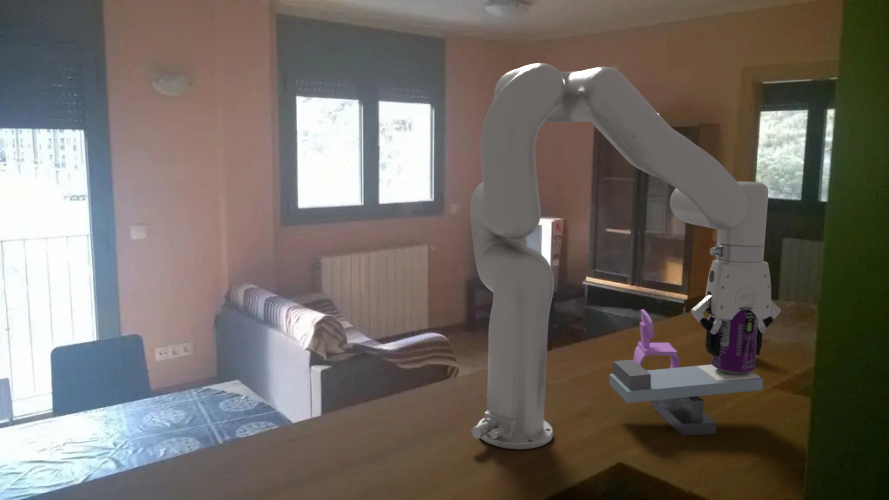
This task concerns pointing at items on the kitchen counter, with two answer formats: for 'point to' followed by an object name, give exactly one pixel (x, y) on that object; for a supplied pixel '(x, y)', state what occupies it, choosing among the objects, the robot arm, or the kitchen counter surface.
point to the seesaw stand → (685, 415)
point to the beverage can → (737, 343)
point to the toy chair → (652, 348)
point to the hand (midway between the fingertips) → (732, 352)
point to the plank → (677, 382)
